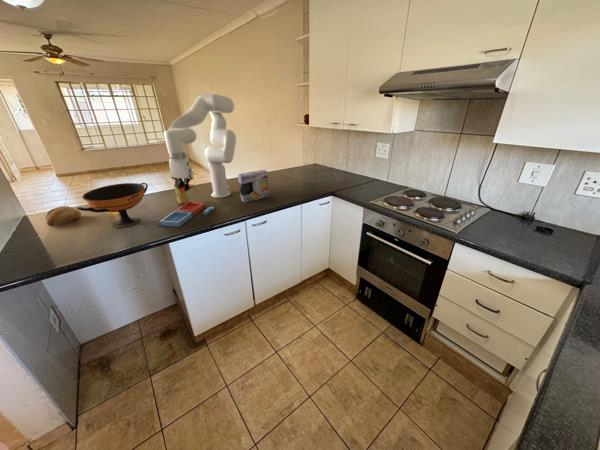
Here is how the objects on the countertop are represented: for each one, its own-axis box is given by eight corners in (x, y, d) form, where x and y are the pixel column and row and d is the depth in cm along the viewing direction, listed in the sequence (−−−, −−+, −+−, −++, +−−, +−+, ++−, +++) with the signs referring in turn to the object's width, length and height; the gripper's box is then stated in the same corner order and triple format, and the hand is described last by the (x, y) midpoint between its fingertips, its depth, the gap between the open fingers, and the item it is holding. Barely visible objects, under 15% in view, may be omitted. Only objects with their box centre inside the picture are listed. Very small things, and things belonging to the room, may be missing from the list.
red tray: (189, 205, 150) (188, 201, 149) (205, 206, 148) (204, 202, 147) (177, 214, 139) (176, 210, 138) (194, 215, 137) (193, 211, 136)
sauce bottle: (179, 202, 154) (171, 171, 145) (189, 201, 156) (182, 170, 147) (178, 206, 149) (170, 174, 140) (189, 204, 151) (182, 173, 142)
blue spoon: (209, 208, 146) (209, 205, 145) (215, 208, 145) (214, 205, 145) (201, 214, 138) (201, 211, 137) (207, 215, 137) (207, 212, 137)
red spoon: (188, 186, 140) (188, 183, 139) (194, 186, 139) (194, 183, 138) (179, 191, 132) (178, 188, 131) (185, 191, 131) (185, 188, 130)
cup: (134, 207, 148) (125, 178, 139) (171, 211, 142) (163, 182, 134) (72, 236, 117) (55, 202, 108) (115, 243, 111) (101, 207, 103)
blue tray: (175, 215, 138) (174, 211, 137) (193, 216, 136) (192, 212, 135) (160, 225, 127) (159, 221, 126) (179, 226, 125) (178, 222, 124)
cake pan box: (242, 203, 152) (238, 175, 144) (239, 201, 156) (235, 173, 148) (269, 197, 162) (268, 170, 154) (266, 195, 166) (264, 169, 157)
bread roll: (43, 226, 125) (35, 212, 122) (74, 214, 138) (68, 201, 134) (56, 229, 123) (48, 215, 119) (86, 217, 136) (80, 203, 132)
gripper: (195, 154, 127) (202, 188, 136) (167, 153, 130) (176, 187, 138) (187, 158, 121) (195, 193, 130) (158, 157, 123) (167, 191, 132)
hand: (185, 189), depth 134 cm, fingers closed on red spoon, 1 cm apart
